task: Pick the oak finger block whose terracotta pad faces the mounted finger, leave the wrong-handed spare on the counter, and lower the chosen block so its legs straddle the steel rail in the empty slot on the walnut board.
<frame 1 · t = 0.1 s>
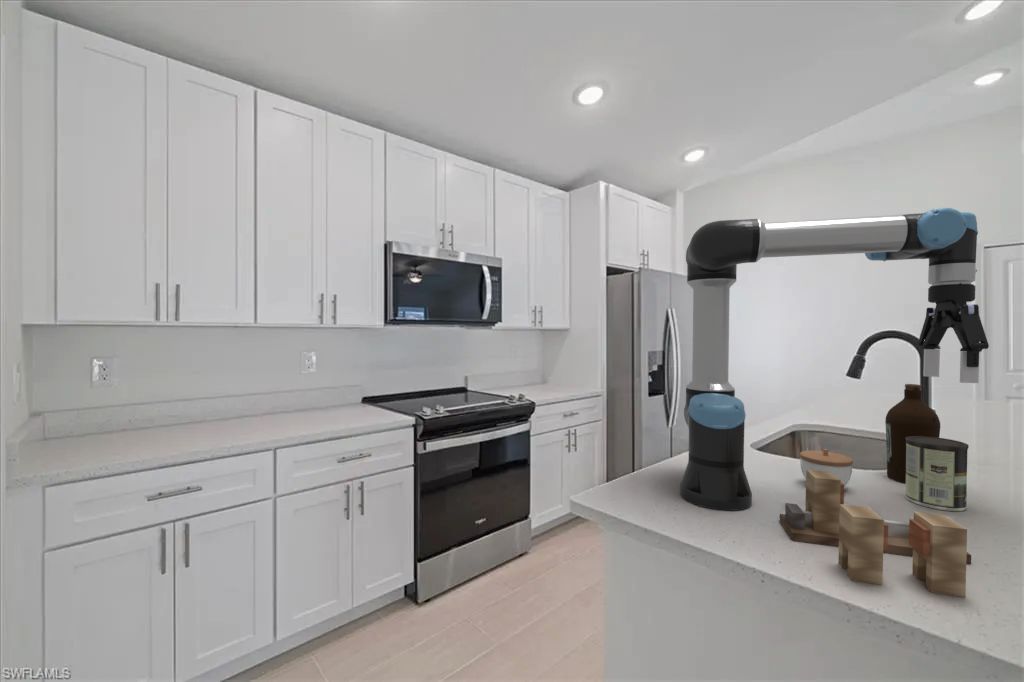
hand: (948, 379, 100), 28 cm above the counter, tool pointing down, fingers open, 13 cm apart
lidded jar: (825, 487, 111), on the counter
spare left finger: (859, 573, 71), on the counter
olive oil: (910, 480, 116), on the counter
coffee can: (934, 503, 101), on the counter
right finger: (937, 585, 68), on the counter
rail board: (865, 540, 83), on the counter
mounted finger: (821, 534, 85), resting on rail board
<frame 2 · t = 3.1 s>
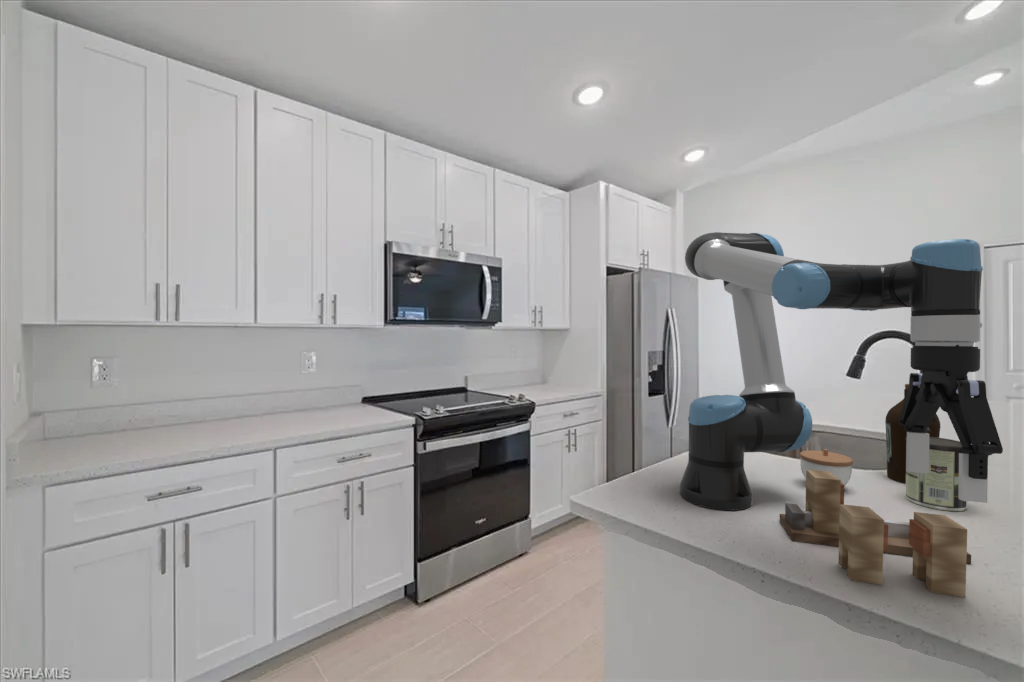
hand: (942, 485, 67), 15 cm above the counter, tool pointing down, fingers open, 13 cm apart
nothing on the counter moved.
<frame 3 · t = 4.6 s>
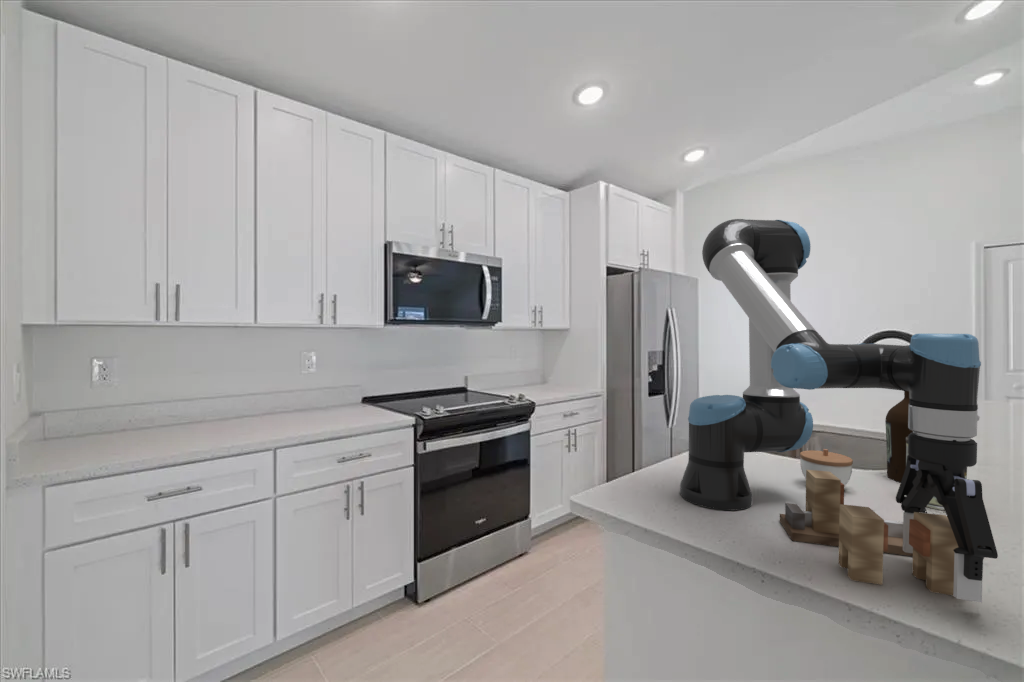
hand: (937, 573, 68), 2 cm above the counter, tool pointing down, fingers open, 13 cm apart
nothing on the counter moved.
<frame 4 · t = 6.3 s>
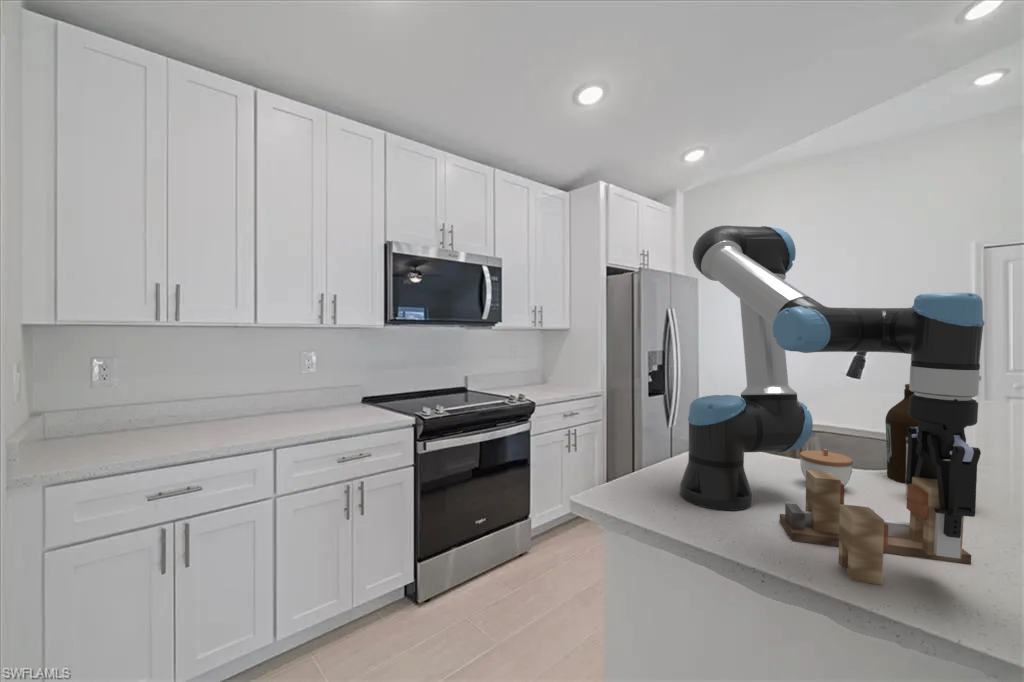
hand: (934, 545, 68), 6 cm above the counter, tool pointing down, fingers closed on right finger, 5 cm apart
right finger: (933, 547, 69), point 5 cm above the counter, touching gripper
everything else where it was.
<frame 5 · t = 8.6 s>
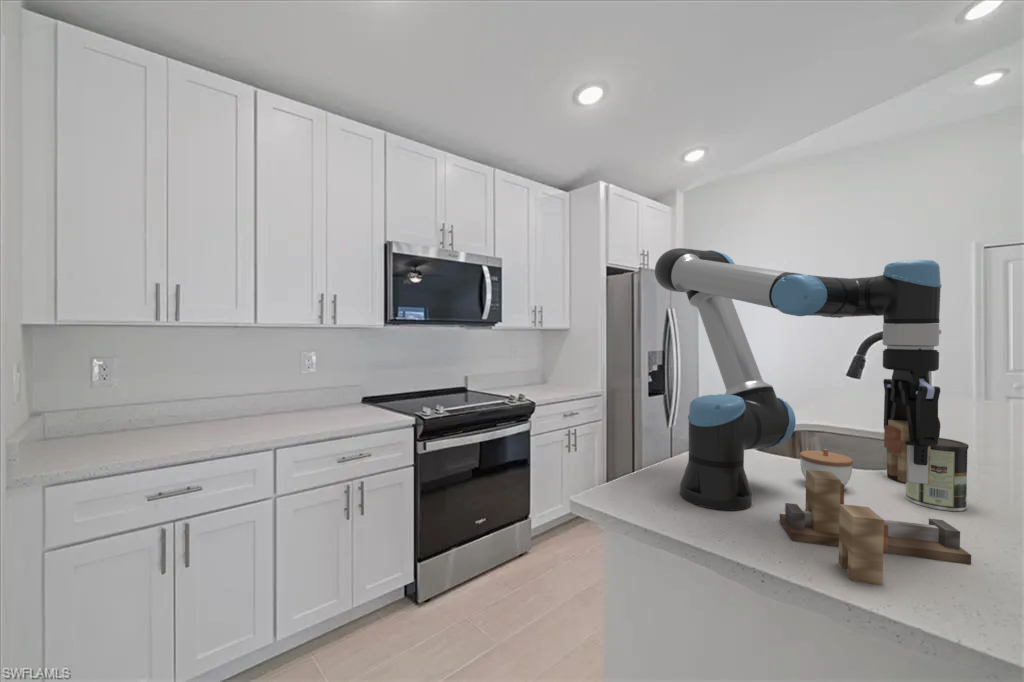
hand: (907, 476, 80), 13 cm above the counter, tool pointing down, fingers closed on right finger, 5 cm apart
right finger: (907, 478, 80), point 12 cm above the counter, touching gripper
everything else where it was.
when the fingers open (3 cm above the counter, at t = 10.9 s): right finger stays where it is, resting on rail board.
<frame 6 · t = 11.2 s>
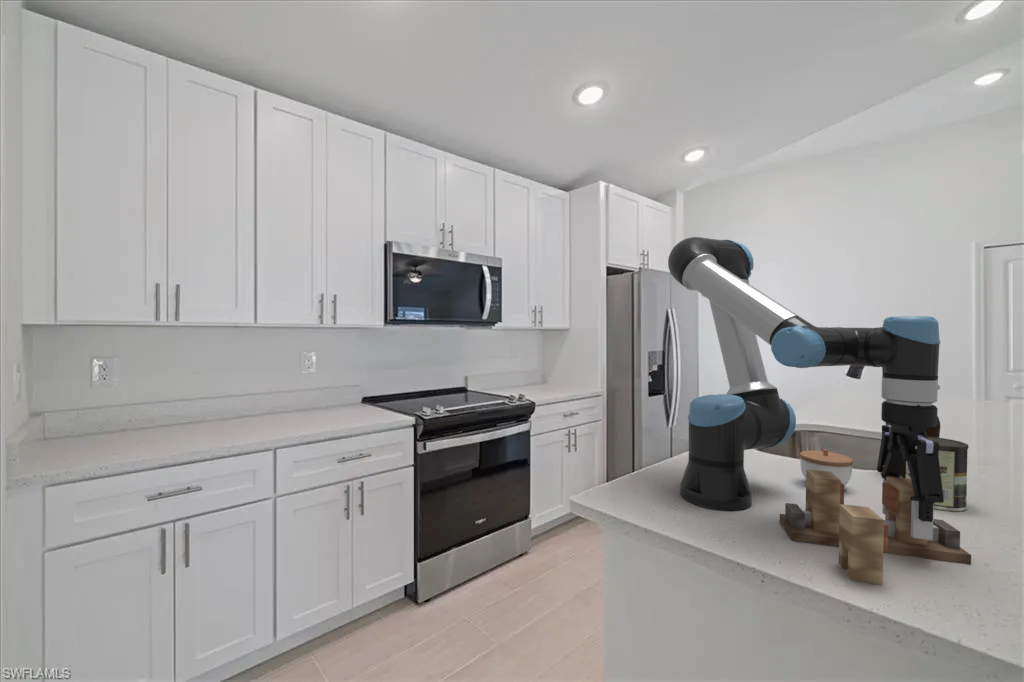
hand: (905, 525, 81), 4 cm above the counter, tool pointing down, fingers open, 9 cm apart
right finger: (905, 537, 81), point 1 cm above the counter, touching rail board
everything else where it was.
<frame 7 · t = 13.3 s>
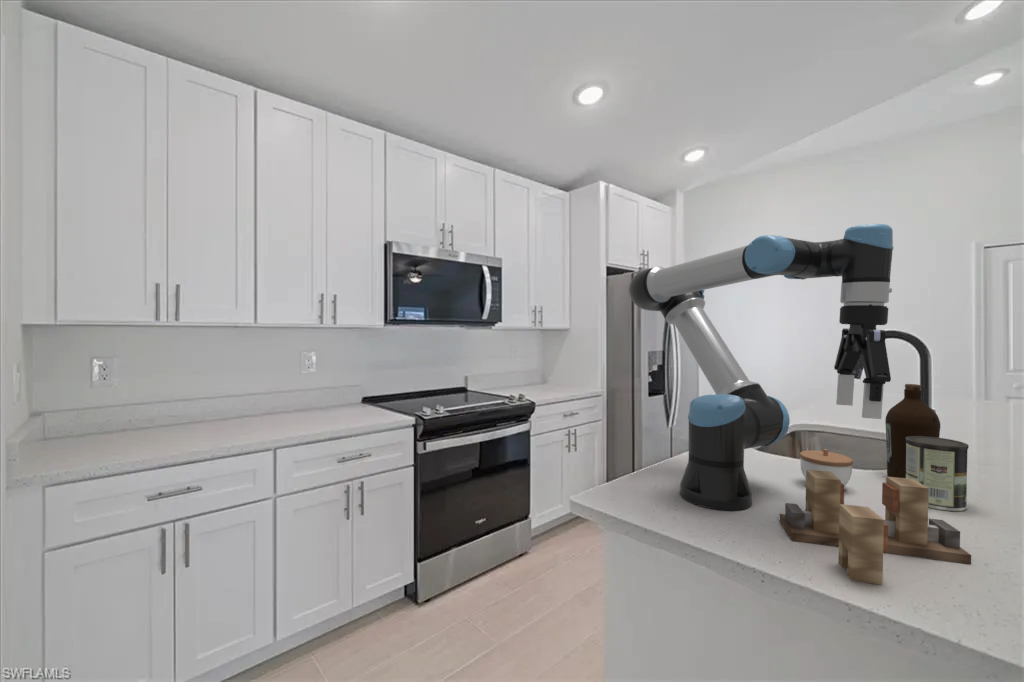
hand: (856, 411, 90), 23 cm above the counter, tool pointing down, fingers open, 13 cm apart
nothing on the counter moved.
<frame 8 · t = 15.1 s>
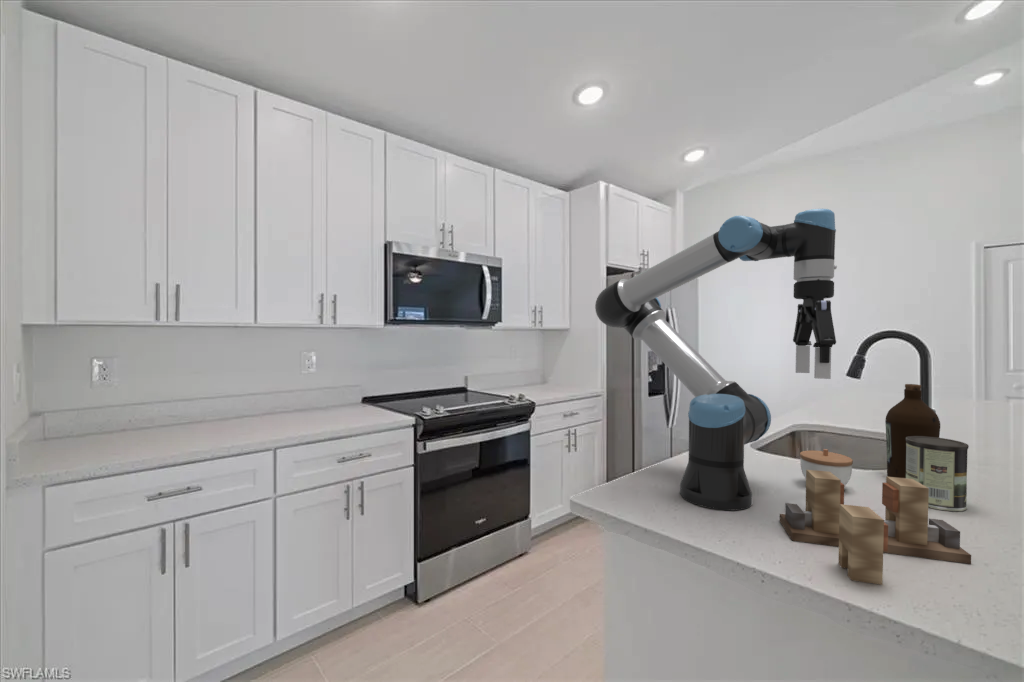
hand: (811, 375, 100), 29 cm above the counter, tool pointing down, fingers open, 13 cm apart
nothing on the counter moved.
at the end: right finger 0.0 cm from the target spot, point 1.5 cm above the counter; right finger tilted 0°; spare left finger moved 0.0 cm from its start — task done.
